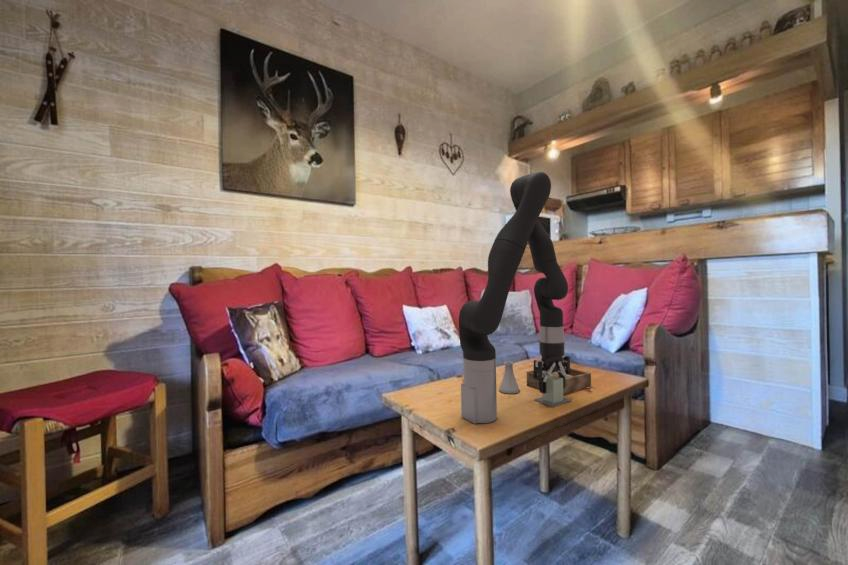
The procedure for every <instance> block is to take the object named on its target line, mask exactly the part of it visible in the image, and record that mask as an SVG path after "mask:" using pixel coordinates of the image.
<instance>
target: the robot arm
mask: <svg viewBox="0 0 848 565" xmlns="http://www.w3.org/2000/svg"><path fill="white" fill-rule="evenodd" d="M551 181H552V180H551V178H550V177H549V175H548V174H547V173H545V172H543V171H535V172H531V173H530V172H529V174H526V175H523V176H520V177H517V178H516V179H514V180H513V181H512V183H511V185H510V188H509V191H510V192H509V193H510V198H511V201H512V204H513V207H514V209H515V212H514V214H513V215H512V216H511V217H510V219H509V220H507V222H506V223H505V225H504V226H503V227H502V228H501V229H500V230H499V232H498V233H497V235H496V237H495V238H494V241H493V244H492V245H491V248H490V250H489V253H488V257H487V273H488V275H487V282H486V287H485V289H484V292H483V293H482V296H481V299H480V300H469V301H467V302H465V303H463V305H462V306H461V308H460V310H459V313H458V330H459V331H458V332H459V333H458V334H459V343H460V348H461V351H462V360H463V362H462V363H463V365H462V366H463V368H462V369H463V383H461V384H460V401H461V402H460V404H461V409H460V410H461V418H463V419H465V420H466V421H468V422H470V423H471V424H474V425H475V424H489V423H493V422H494V421H496V420H497V419H498V409H497V408H498V406H497V404H498V403H497V402H498V401H497V400H498V399H497V358H496V356H497V354H496V353H497V350H496V348H495V346H494V345H493V344H492V343H491V341H490V340H489V337H488V336H490V335H492V334H494V333H495V332H496V331H497V329H498V328H499V326H500V324H501V320H502V318H503V315H504V310H505V307H506V303H507V300H508V296H509V293H510V290H511V286H512V284H513V281H514V279H515V276H516V273H517V271H518V268H519V267H520V264H521V262H522V259H523V257H524V253H525V250H526V249H527V246H529V250H530V254H531V259H532V263H533V267H534V270H535V271H536V272H538V273H541V274H543V275H544V277H539V278H537V280H536V282H534V286H533V295H534V298H535V303H536V304H537V308H538V313H539V330H538V331H539V332H538V334H539V335H538V336H539V337H538V338H539V339H538V340H539V342H538V344H539V346H538V348H539V354H540V357H541V360H537V359H534V360H533V370H534V373H533V378H534V379H536V380H538V381H539V389H538V390H539V392H540V393H541V394H542V393H543V394H545V393H547V387H546V380H547V378H548V376H550V374H551V373H553V372H557V374H558V375H559V376H558V377H560V378H563V389H565V385H566V384H565V377H566V376H567V374H570V368H571V359H570V358H571V357H570V356H568V355H565V353H566V352H565V331H564V311H563V309H562V308H560V307H558V306H556V305H555V304H554V302H553V301H560V300H561V301H562V300H563V299H565V298H566V297H567V296H568V294H569V293H568V292H569V285H568V284H569V283H568V281H567V278H566V276H565V274H564V273H563V271H562V268H561V267H560V265H559V263H558V261H557V256H556V251H555V246H554V244H553V240H552V238H551V236H550V235H549V234H548V232H547V231H546V230H545V228H544V226H543V225H542V223H541V222H540V220H539V217H540V215H541V213H542V211H543V209H544V207H545V205H546V204H547V201H548V200H549V197H550V195H551V190H552V182H551ZM565 367H566V368H567V370H565ZM544 370H545V371H546V372H545V371H544ZM537 372H538V376H537ZM543 375H544V377H543Z"/></svg>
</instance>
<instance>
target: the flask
mask: <svg viewBox="0 0 848 565" xmlns="http://www.w3.org/2000/svg"><path fill="white" fill-rule="evenodd" d="M503 364H504V371H503V372H504V373H503V376H502V380H501V383H500V385H499V389H498V391H500V393H502V394H519V393H520V391H521V390H520V387H519V385H518V382H517V379H516V377H515V373H514V367H513V365H514V362H513V361H504V362H503Z"/></svg>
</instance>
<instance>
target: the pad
mask: <svg viewBox="0 0 848 565" xmlns="http://www.w3.org/2000/svg"><path fill="white" fill-rule="evenodd" d="M534 401H535V402H538V403H540V404H543V405H545V406H548V407H551V408H553V407H557V406H559V405H560V406H561V405H564V404H568V403H571V402H572V399H569V398H566V397H564V396H563V401H559V402H556V403H552V402H549V401H546V400H544V399H542V396H541V397H538V398H534ZM570 401H571V402H570ZM567 402H568V403H567Z"/></svg>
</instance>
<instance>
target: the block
mask: <svg viewBox="0 0 848 565" xmlns="http://www.w3.org/2000/svg"><path fill="white" fill-rule="evenodd" d="M546 387H547V393H545V394H543V393H541V397H542V399H544V400H546V401H549V402H552V403H556V402H559V401H563V397H564V395H563V378H560V377H556V376H553V375H550V376H548V378H547V380H546Z"/></svg>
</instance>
